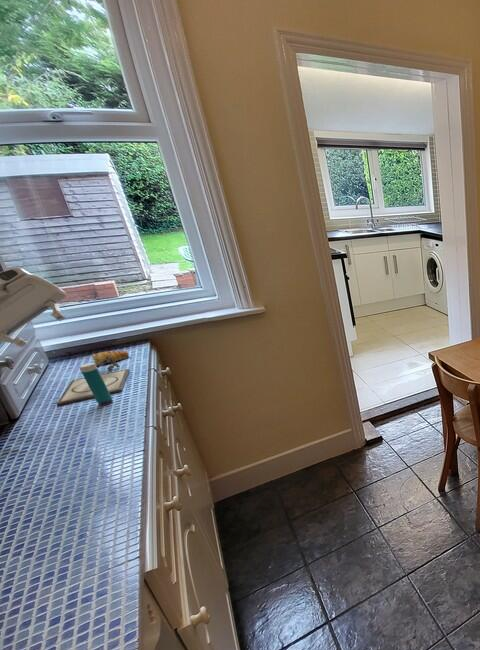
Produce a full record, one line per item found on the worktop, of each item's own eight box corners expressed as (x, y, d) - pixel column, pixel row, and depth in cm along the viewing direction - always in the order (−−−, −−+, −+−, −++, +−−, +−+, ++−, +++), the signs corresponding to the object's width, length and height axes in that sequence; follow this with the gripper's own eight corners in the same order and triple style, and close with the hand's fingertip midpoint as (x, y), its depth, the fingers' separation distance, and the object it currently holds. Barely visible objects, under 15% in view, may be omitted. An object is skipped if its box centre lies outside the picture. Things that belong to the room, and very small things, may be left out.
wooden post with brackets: (120, 366, 140) (108, 355, 138) (98, 378, 140) (86, 368, 138) (123, 364, 142) (111, 354, 140) (102, 376, 141) (90, 366, 139)
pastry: (128, 354, 153) (123, 345, 152) (131, 359, 149) (126, 349, 148) (94, 362, 147) (89, 352, 146) (96, 367, 143) (91, 357, 141)
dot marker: (95, 405, 116) (75, 367, 111) (107, 400, 119) (88, 362, 114) (104, 406, 116) (85, 367, 111) (116, 400, 118) (97, 362, 114)
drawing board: (57, 406, 117) (56, 403, 116) (73, 382, 132) (71, 379, 131) (121, 391, 124) (120, 388, 123) (129, 370, 139) (128, 368, 138)
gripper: (-68, 319, 93) (-11, 358, 95) (24, 262, 102) (74, 299, 103) (-44, 328, 99) (9, 364, 101) (41, 274, 107) (89, 308, 109)
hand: (43, 331), depth 102 cm, fingers open, 8 cm apart
